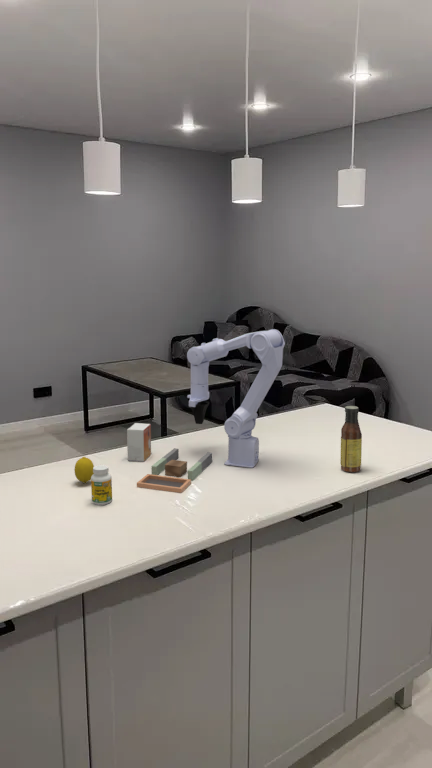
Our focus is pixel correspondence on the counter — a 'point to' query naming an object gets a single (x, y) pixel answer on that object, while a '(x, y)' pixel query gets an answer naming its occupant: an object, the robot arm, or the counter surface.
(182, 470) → the walnut block
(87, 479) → the lemon
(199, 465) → the green and grey bars
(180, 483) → the tray
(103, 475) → the supplement bottle
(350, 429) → the sauce bottle
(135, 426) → the small box
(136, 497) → the counter surface
